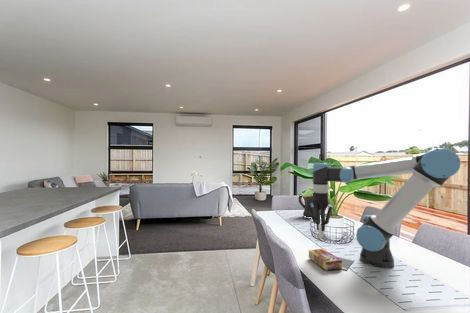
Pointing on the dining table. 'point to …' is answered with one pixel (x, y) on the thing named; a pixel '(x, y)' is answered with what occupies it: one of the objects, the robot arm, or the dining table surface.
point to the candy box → (325, 259)
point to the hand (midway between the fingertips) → (320, 236)
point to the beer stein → (306, 208)
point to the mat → (345, 263)
